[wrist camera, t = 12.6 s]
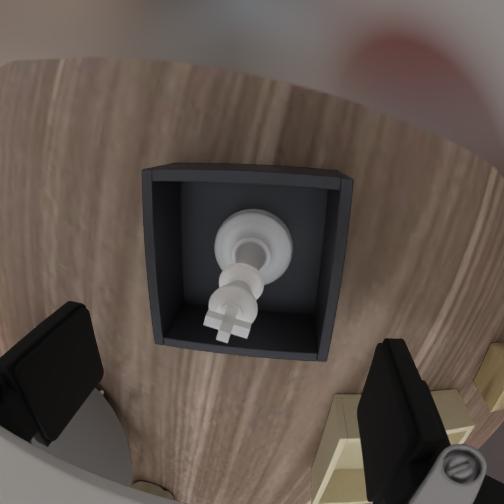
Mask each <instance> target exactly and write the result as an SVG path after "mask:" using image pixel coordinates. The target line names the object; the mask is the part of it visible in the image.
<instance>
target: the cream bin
mask: <svg viewBox="0 0 504 504" xmlns="http://www.w3.org/2000/svg"><path fill="white" fill-rule="evenodd" d="M430 392H431V395H432V397H433V399H434V402H435V404H436V407H437V409H438V412H439V414H440V417H441V419H442V422H443V425H444V427H445V430H446V433H447V435H448V438H449V441H450V444H451V445H454V444H463V443H464V441H465V440H466V438H467V437H468V435H469V434H470V432H471V431H472V429H473V428H474V426H475V423H474V421H473V419H472V417H471V415H470V413H469V411H468V409H467V407H466V405H465V404H464V402H463V400H462V398H461V396H460V394H459V392H458V390H457V389H451V390H440V391H430ZM361 395H362V394H335V395H334V398H333V402H332V405H331V409H330V412H329V416H328V419H327V422H326V426H325V429H324V432H323V435H322V439H321V442H320V445H319V448H318V451H317V454H316V457H315V460H314V463H313V466H312V469H311V504H363V503H373V502H368V500H367V495H366V485H365V475H364V466H363V458H362V450H361V442H360V434H359V427H358V420H357V407H358V404H359V401H360V398H361Z"/></svg>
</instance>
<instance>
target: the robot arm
mask: <svg viewBox="0 0 504 504" xmlns="http://www.w3.org/2000/svg"><path fill="white" fill-rule="evenodd" d="M103 373H104V371H103V366H102V363H101V359H100V355H99V351H98V347H97V343H96V339H95V335H94V331H93V326H92V322H91V317H90V313H89V311H88V309H86V306H85V305H84V304H82V303H77V302H72V301H68V302H67V303H65V304H64V305H63V306H62V307H60V308H59V309H58V310H57V311H55V312H54V313H53V314H52V315H50V316H49V317H48V318H47V319H45V320H44V321H43V322H42V323H41V324H39V325H38V326H37V327H36V328H34V329H33V330H32V331H31V332H30V333H28V334H27V335H26V336H25V337H24V338H23V339H21V340H20V341H19V342H18V343H17V344H15V345H14V346H13V347H12V348H11V349H10V350H9V351H7V352H6V353H5V354H4V355H3V356H2V357H1V358H0V504H187V503H183V502H179V501H175V500H171V499H167V498H163V497H160V496H156V495H153V494H149V493H146V492H143V491H140V490H136V489H133V488H130V487H127V486H124V485H122V484H119V483H116V482H113V481H111V480H108V479H105V478H103V477H100V476H98V475H95V474H93V473H90V472H88V471H86V470H83V469H81V468H79V467H76V466H74V465H72V464H70V463H68V462H66V461H63V460H61V459H59V458H57V457H55V456H53V455H51V454H49V453H47V452H45V451H43V450H41V449H40V448H38V447H36V446H34V445H32V442H31V440H32V438H33V437H34V438H35V440H36V441H37V442H39V443H40V444H42V445H44V446H46V447H48V446H49V445H50V444H51V442H52V441H55V440H57V438H58V437H59V436H60V434H61V433H62V432H63V430H64V429H65V427H66V426H67V425H68V423H69V422H70V421H71V419H72V418H73V417H74V415H75V414H76V413H77V411H78V410H79V409H80V407H81V406H82V404H83V403H84V402H85V400H86V399H87V398H88V397H89V395H90V394H91V393H92V391H93V390H94V389H95V387H96V386H97V385H98V383H99V382H100V381H101V379H102V377H103ZM357 420H358V427H359V434H360V442H361V450H362V458H363V466H364V475H365V485H366V495H367V500H368V502H373V504H504V484H503V483H501V482H499V481H497V480H495V479H493V478H491V477H489V476H487V475H485V474H486V469H487V467H486V461H485V459H484V457H483V455H482V454H481V453H480V452H479V451H478V450H477V449H475V448H474V447H472V446H469V445H466V444H454V445H451V444H450V441H449V438H448V435H447V433H446V430H445V427H444V425H443V422H442V419H441V417H440V414H439V412H438V409H437V407H436V404H435V402H434V399H433V397H432V395H431V392H430V390H429V388H428V385H427V384H426V382H425V381H423V380H421V377H420V375H419V373H418V370H417V368H416V366H415V363H414V361H413V359H412V357H411V354H410V352H409V350H408V348H407V345H406V343H405V341H404V340H403V339H389V338H386V339H384V341H383V343H378V344H377V347H376V350H375V353H374V357H373V360H372V364H371V367H370V370H369V373H368V376H367V380H366V383H365V386H364V389H363V392H362V395H361V398H360V401H359V404H358V407H357Z"/></svg>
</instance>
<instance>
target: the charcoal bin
mask: <svg viewBox="0 0 504 504" xmlns="http://www.w3.org/2000/svg"><path fill="white" fill-rule="evenodd" d="M352 191H353V179H352V178H350V177H348V176H347V175H345V174H343V173H341V172H339V171H337V170H328V169H317V168H304V167H291V166H275V165H256V164H230V163H172V164H166V165H161V166H156V167H152V168H147V169H143V170H142V203H143V226H144V243H145V257H146V269H147V280H148V290H149V300H150V309H151V317H152V325H153V333H154V340H155V344H159V345H166V346H172V347H179V348H185V349H192V350H199V351H207V352H215V353H223V354H232V355H241V356H251V357H262V358H273V359H287V360H302V361H316V360H317V361H321V362H326V361H327V358H328V353H329V348H330V343H331V338H332V332H333V327H334V322H335V316H336V310H337V305H338V299H339V293H340V286H341V280H342V273H343V267H344V260H345V252H346V245H347V237H348V229H349V220H350V211H351V202H352ZM246 209H260V210H264V211H267V212H270V213H272V214H274V215H275V216H277V217H278V218H279V219H281V220H282V221H283V222H284V224H285V225H286V226H287V228H288V229H289V231H290V234H291V236H292V240H293V255H292V259H291V261H290V264H289V266H288V268H287V269H286V271H285V272H284V273H283V274H282V275H281V276H280V277H279V278H278V279H277V280H275V281H273V282H271V283H269V284H266V285H264V289H263V292H262V294H261V296H260V297H259V298H258V299H257V300H256V302H257V306H258V313H257V316H256V319H255V320H254V322H253V323H252V324H251V328H250V332H249V334H248V337H247V339H246V338H243V337H240V336H236V335H233V334H230V338H229V341H228V343H225V342H222V341H219V340H216V337H217V334H218V330H217V329H214V328H211V327H208V326H205V325H203V324H204V320H205V316H206V314H207V311H208V310H209V307H208V304H209V300H210V297H211V295H212V294H213V293H214V292H215V291H216V290H217V289H218V288H219V277H220V274H221V273H222V269H221V268H220V266H219V264H218V262H217V260H216V257H215V250H214V245H215V239H216V235H217V232H218V230H219V228H220V226H221V225H222V223H223V222H224V221H225V220H226V219H227V218H228V217H229V216H231V215H232V214H234V213H236V212H239V211H241V210H246Z"/></svg>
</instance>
